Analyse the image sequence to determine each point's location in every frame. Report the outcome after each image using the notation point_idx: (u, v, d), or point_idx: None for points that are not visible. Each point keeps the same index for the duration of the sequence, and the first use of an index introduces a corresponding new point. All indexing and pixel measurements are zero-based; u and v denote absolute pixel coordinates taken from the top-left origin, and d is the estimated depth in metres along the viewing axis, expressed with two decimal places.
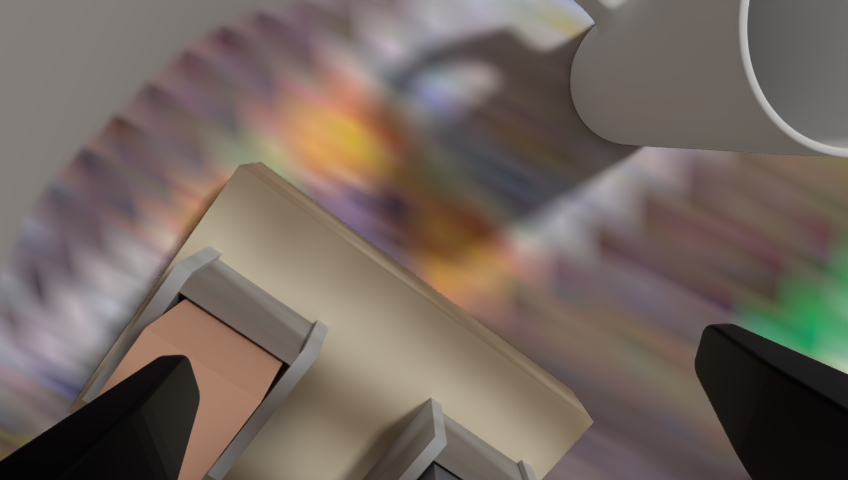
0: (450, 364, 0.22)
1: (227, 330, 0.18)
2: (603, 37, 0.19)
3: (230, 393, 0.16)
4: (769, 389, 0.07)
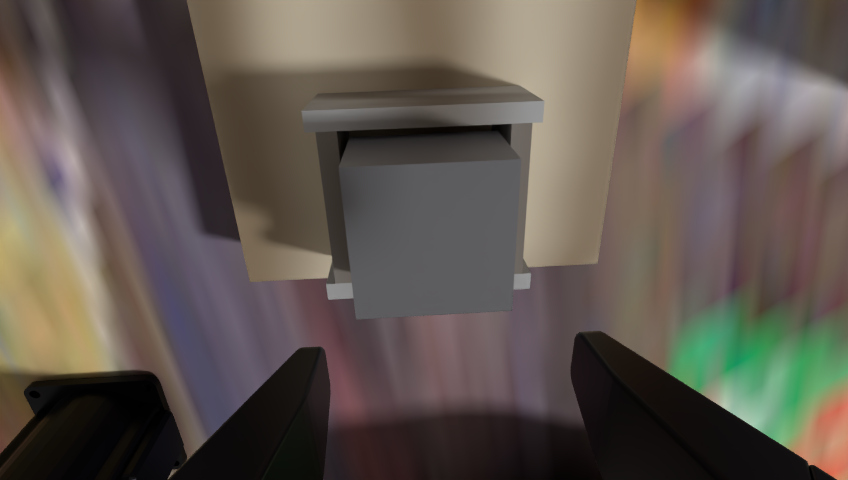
0: (574, 73, 0.16)
1: None
2: None
3: None
4: (613, 399, 0.07)
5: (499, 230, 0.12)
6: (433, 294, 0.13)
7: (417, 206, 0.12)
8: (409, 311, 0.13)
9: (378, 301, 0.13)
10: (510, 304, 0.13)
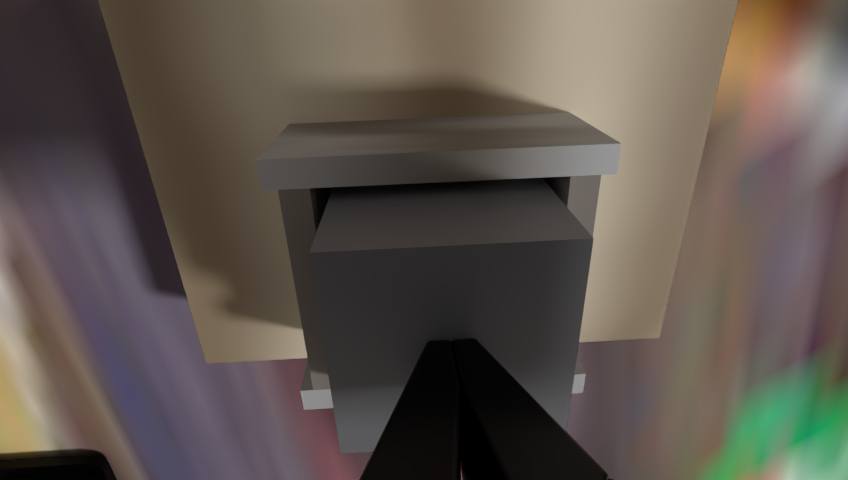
0: (644, 96, 0.11)
1: None
2: None
3: None
4: (463, 408, 0.07)
5: (553, 337, 0.08)
6: None
7: (430, 307, 0.08)
8: None
9: (373, 430, 0.09)
10: None
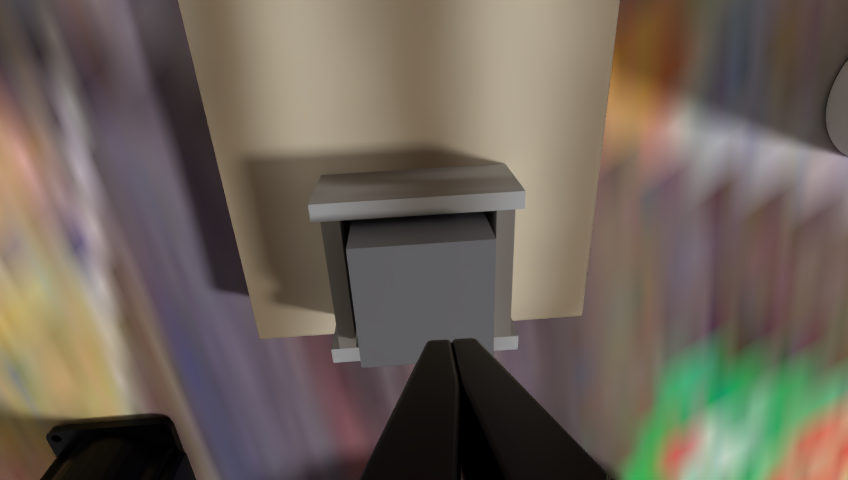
0: (554, 152, 0.17)
1: None
2: None
3: None
4: (464, 408, 0.07)
5: (480, 294, 0.15)
6: None
7: (411, 278, 0.14)
8: (406, 360, 0.16)
9: (380, 352, 0.15)
10: (491, 352, 0.16)
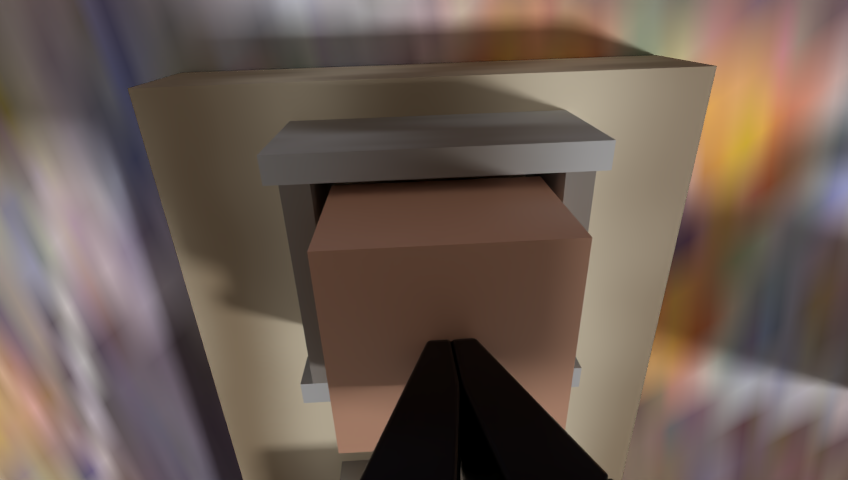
0: (582, 439, 0.17)
1: None
2: None
3: (550, 402, 0.09)
4: (464, 408, 0.07)
5: None
6: None
7: None
8: None
9: None
10: None
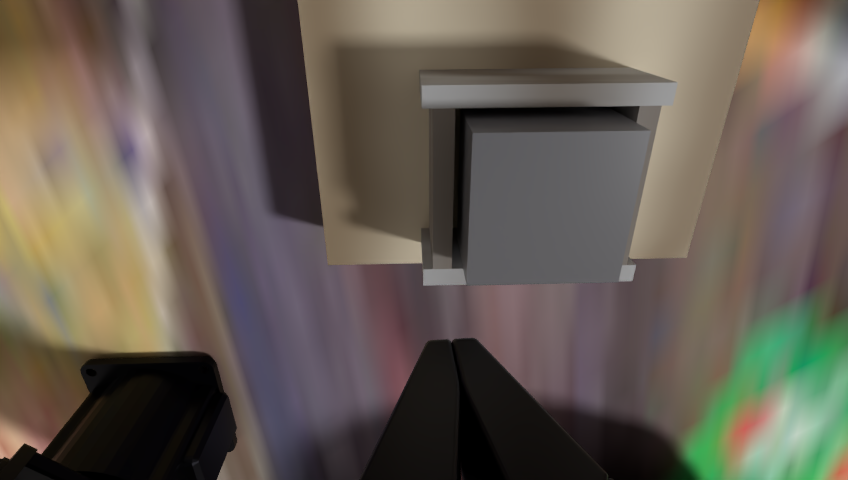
0: (688, 56, 0.15)
1: None
2: None
3: None
4: (463, 408, 0.07)
5: (619, 201, 0.12)
6: (545, 264, 0.13)
7: (542, 175, 0.12)
8: (519, 279, 0.14)
9: (491, 268, 0.13)
10: (617, 276, 0.14)
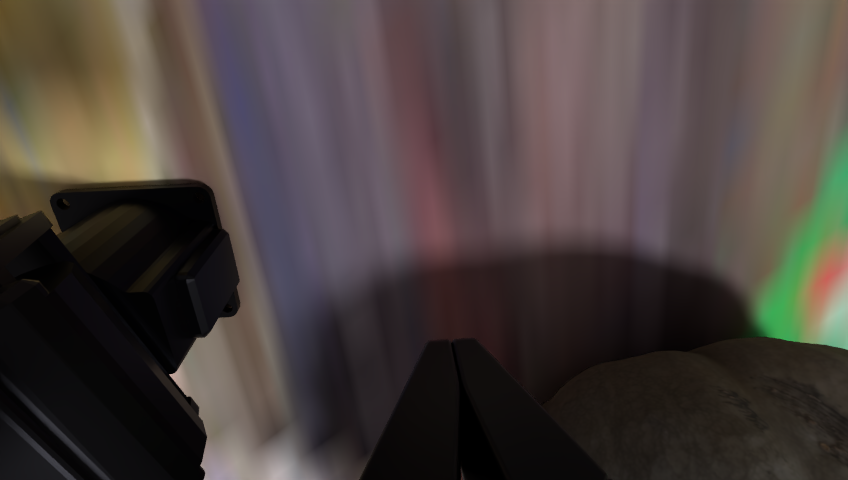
0: None
1: None
2: None
3: None
4: (463, 408, 0.07)
5: None
6: None
7: None
8: None
9: None
10: None
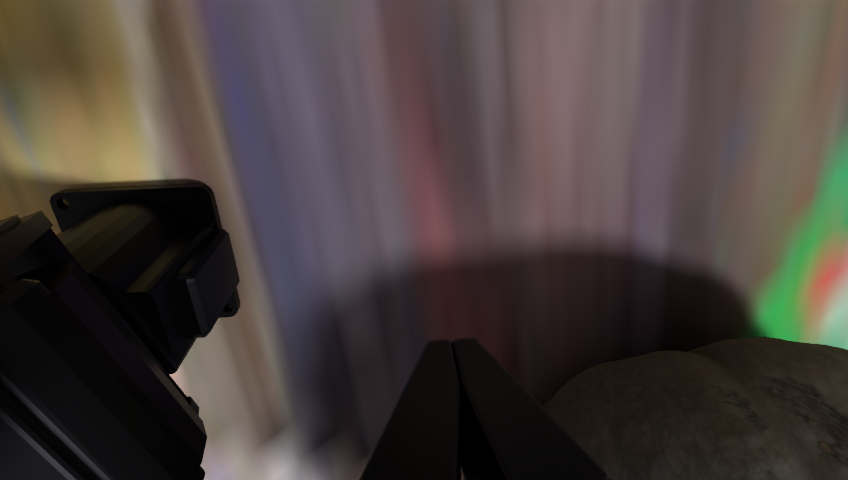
0: None
1: None
2: None
3: None
4: (464, 408, 0.07)
5: None
6: None
7: None
8: None
9: None
10: None
